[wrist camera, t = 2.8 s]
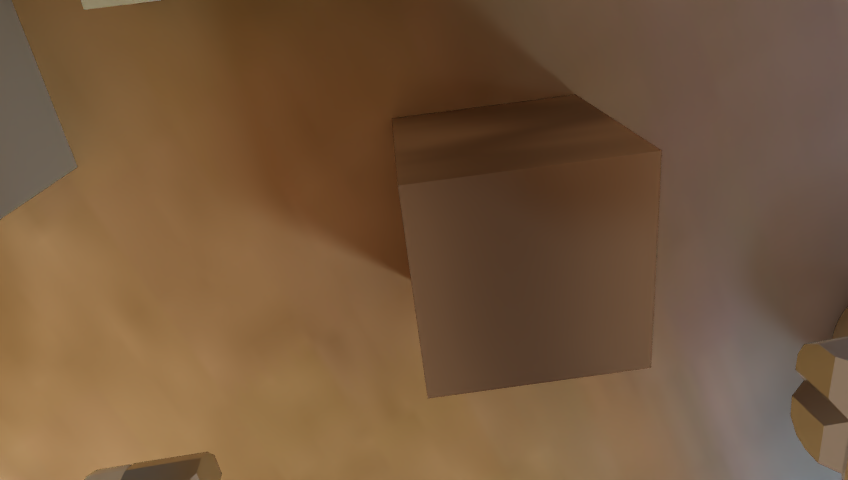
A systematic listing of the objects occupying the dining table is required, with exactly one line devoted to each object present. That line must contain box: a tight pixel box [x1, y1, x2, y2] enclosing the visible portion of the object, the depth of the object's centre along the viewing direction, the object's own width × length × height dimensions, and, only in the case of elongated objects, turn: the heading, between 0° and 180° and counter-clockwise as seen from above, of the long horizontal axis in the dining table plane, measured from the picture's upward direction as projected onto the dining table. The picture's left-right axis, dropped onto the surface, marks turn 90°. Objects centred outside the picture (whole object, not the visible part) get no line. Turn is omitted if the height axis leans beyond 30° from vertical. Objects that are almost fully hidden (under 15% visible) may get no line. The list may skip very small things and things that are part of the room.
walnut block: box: [392, 95, 662, 398], centre depth 13 cm, size 4×4×5 cm
